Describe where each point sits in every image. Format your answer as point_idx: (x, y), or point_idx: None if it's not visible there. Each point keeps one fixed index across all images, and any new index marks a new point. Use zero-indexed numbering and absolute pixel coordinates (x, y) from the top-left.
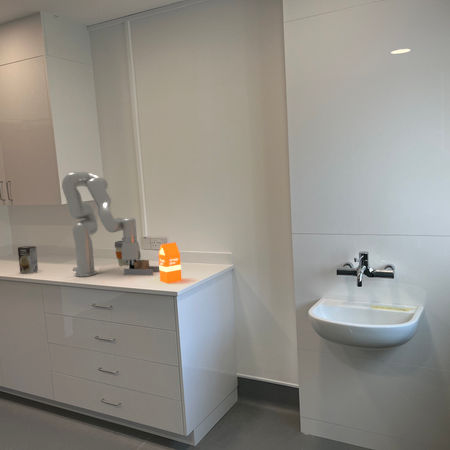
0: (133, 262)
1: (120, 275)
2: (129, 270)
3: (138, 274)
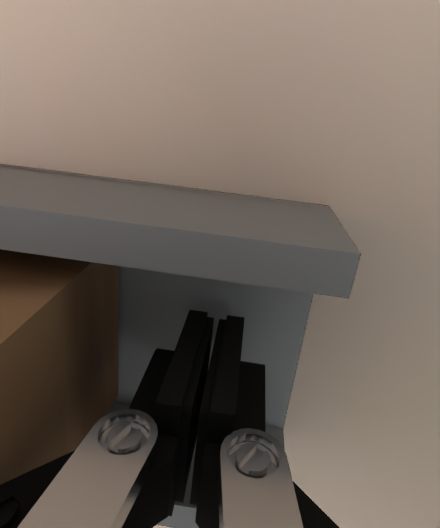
0: (68, 472)
1: (426, 250)
2: (186, 219)
3: (4, 172)
